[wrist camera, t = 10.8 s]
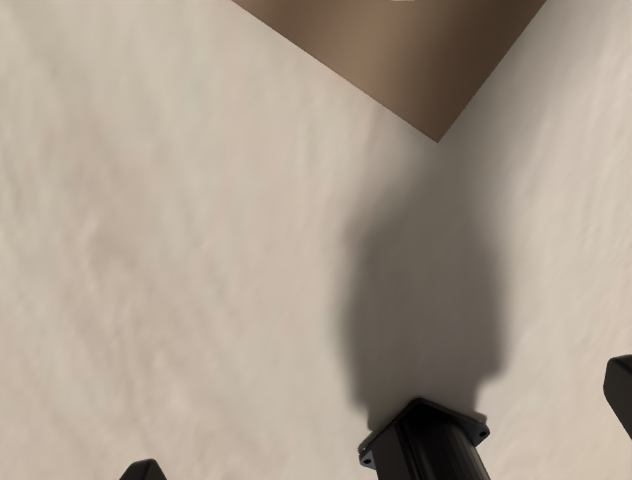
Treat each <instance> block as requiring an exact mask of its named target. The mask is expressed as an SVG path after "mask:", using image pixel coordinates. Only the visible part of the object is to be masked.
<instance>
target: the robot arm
mask: <svg viewBox="0 0 632 480" xmlns="http://www.w3.org/2000/svg"><path fill="white" fill-rule="evenodd" d="M603 390H604V395H605V397H606V399H607V401H608V403H609V404H610V406H611V408H612V409H613V411H614V412H615V414H616V416H617V417H618V419H619V420H620V422H621V424H622V425H623V427H624V428H625V430H626V432H627V433H628V435H629V436H630V438H631V440H632V355H630V354H629V355H623V356H618V357H614V358H611V359H610V360H609V361H608V363H607V368H606V373H605V379H604V385H603ZM489 434H490V430H489V429H488V427H487V425H486V424H483V423H481V422H479V421H476V420H474V419H471V418H469V417H466V416H464V415H462V414H459V413H457V412H454V411H452V410H449V409H447V408H445V407H442V406H440V405H437V404H435V403H432V402H430V401H427V400H425V399H422V398H417V399H414V400H413V401H411V403H410V404H409V405H408V406H407V407H406V408H405V409H404V410H403V411H402V412H401V413H400V414H399V415H398V416H397V417H396V418H395V419H394V420H393V421H392V422H391V423H390V424H389V425H388V426H387V427H386V428H385V429H384V430H383V431H382V432H381V433H380V434H379V435H378V436H377V437H376V438H375V439H374V440H373V441H372V442H371V443H370V444H369V445H368V446H367V448H366V449H365V450H364V451H363V452H362V453H361V454H360V455H359V461H360V464H361V465H362V466H365V467H368V468H371V469H374V470H376V472H377V476H378V480H491V479H490V477H489V475H488V473H487V471H486V469H485V467H484V465H483V463H482V460H481V458H480V456H479V454H478V452H477V450H476V448H475V447H476V446H478V445H479V444H480V443H481V442H482V441H483V440H484V439H485V438H487V437H488V436H489ZM119 480H167V479H166V477H165V475H164V474H163V472H162V470H161V468H160V467H159V465H158V463H157V462H156V460H154V459H146V460H141V461H137V462H134V463H132V464H131V465H130V466H129V467H128V468H127V470H126V471H125V472H124V474H123V475H122V476H121V478H120V479H119Z"/></svg>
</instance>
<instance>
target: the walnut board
mask: <svg viewBox="0 0 632 480" xmlns="http://www.w3.org/2000/svg"><path fill="white" fill-rule="evenodd" d="M232 1H233V2H235V3H236V4H238V5H239V6H240V7H242V8H243V9H245V10H246V11H248V12H249V13H251V14H252V15H253V16H255V17H256V18H258V19H259V20H261V21H262V22H264V23H265V24H266V25H268V26H269V27H271V28H272V29H274V30H275V31H277V32H278V33H279V34H281V35H282V36H284V37H285V38H287V39H288V40H289V41H291V42H292V43H294V44H295V45H297V46H298V47H300V48H301V49H302V50H304V51H305V52H307V53H308V54H310V55H311V56H313V57H314V58H315V59H317V60H318V61H320V62H321V63H323V64H324V65H326V66H327V67H328V68H330V69H331V70H333V71H334V72H336V73H337V74H339V75H340V76H341V77H343V78H344V79H346V80H347V81H349V82H350V83H351V84H353V85H354V86H356V87H357V88H359V89H360V90H362V91H363V92H364V93H366V94H367V95H369V96H370V97H372V98H373V99H375V100H376V101H377V102H379V103H380V104H382V105H383V106H385V107H386V108H388V109H389V110H390V111H392V112H393V113H395V114H396V115H398V116H399V117H401V118H402V119H403V120H405V121H406V122H408V123H409V124H411V125H412V126H413V127H415V128H416V129H418V130H419V131H421V132H422V133H424V134H425V135H426V136H428V137H429V138H431V139H432V140H434V141H435V142H437V143H438V142H439V141H440V140H441V138H442V137H443V136H444V134H445V133H446V132H447V130H448V129H449V128H450V126H451V125H452V124H453V122H454V121H455V120H456V119H457V117H458V116H459V115H460V113H461V112H462V111H463V109H464V108H465V107H466V105H467V104H468V103H469V101H470V100H471V99H472V97H473V96H474V95H475V94H476V92H477V91H478V90H479V88H480V87H481V86H482V84H483V83H484V82H485V80H486V79H487V78H488V76H489V75H490V74H491V73H492V71H493V70H494V69H495V67H496V66H497V65H498V63H499V62H500V61H501V59H502V58H503V57H504V55H505V54H506V53H507V51H508V50H509V49H510V48H511V46H512V45H513V44H514V42H515V41H516V40H517V38H518V37H519V36H520V34H521V33H522V32H523V30H524V29H525V28H526V27H527V25H528V24H529V23H530V21H531V20H532V19H533V17H534V16H535V15H536V13H537V12H538V11H539V9H540V8H541V7H542V5H543V4H544V3H545V2H546V0H232Z"/></svg>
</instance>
